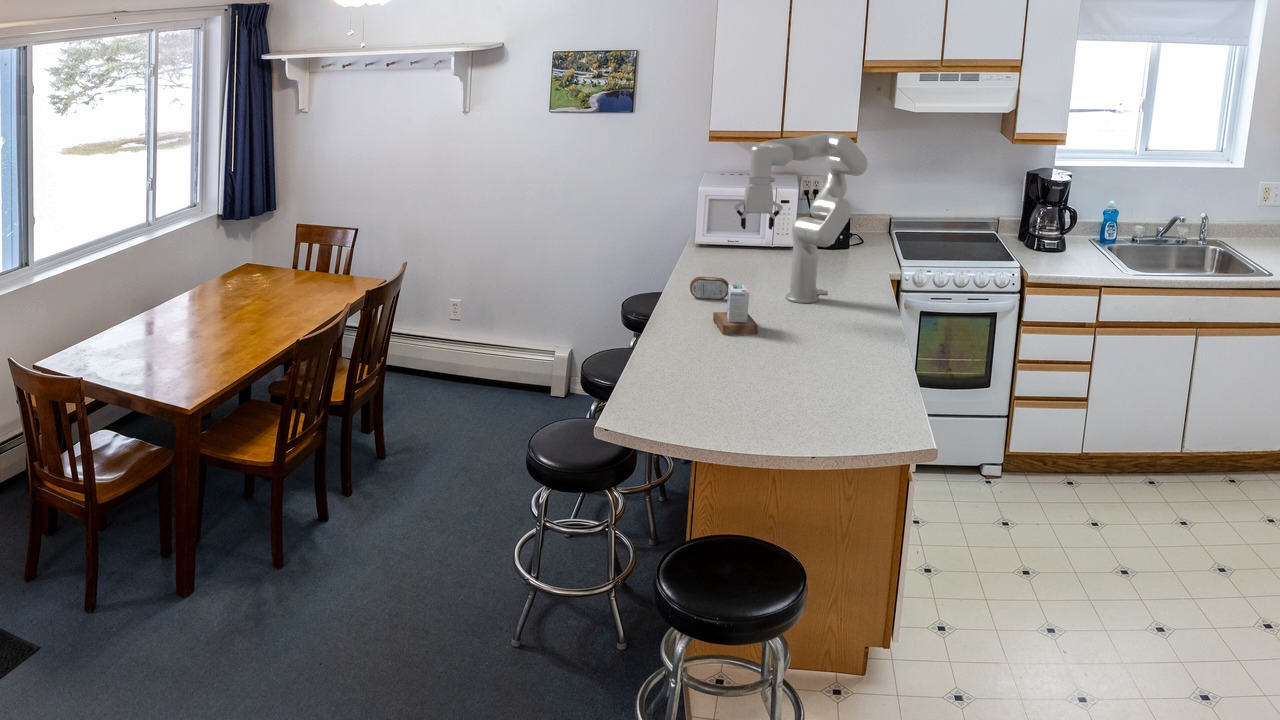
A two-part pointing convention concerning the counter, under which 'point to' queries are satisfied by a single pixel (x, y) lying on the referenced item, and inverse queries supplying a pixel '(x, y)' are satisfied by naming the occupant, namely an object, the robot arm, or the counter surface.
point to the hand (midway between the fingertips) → (756, 228)
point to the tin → (709, 288)
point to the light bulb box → (737, 303)
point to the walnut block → (734, 324)
